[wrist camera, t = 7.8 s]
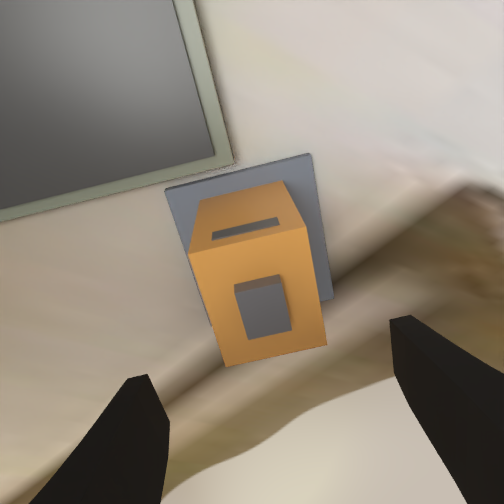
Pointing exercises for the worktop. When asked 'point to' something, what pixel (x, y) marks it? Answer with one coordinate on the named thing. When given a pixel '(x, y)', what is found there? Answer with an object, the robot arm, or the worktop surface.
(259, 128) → the worktop surface
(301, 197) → the mat
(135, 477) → the robot arm
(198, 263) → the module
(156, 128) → the grey-green tray
